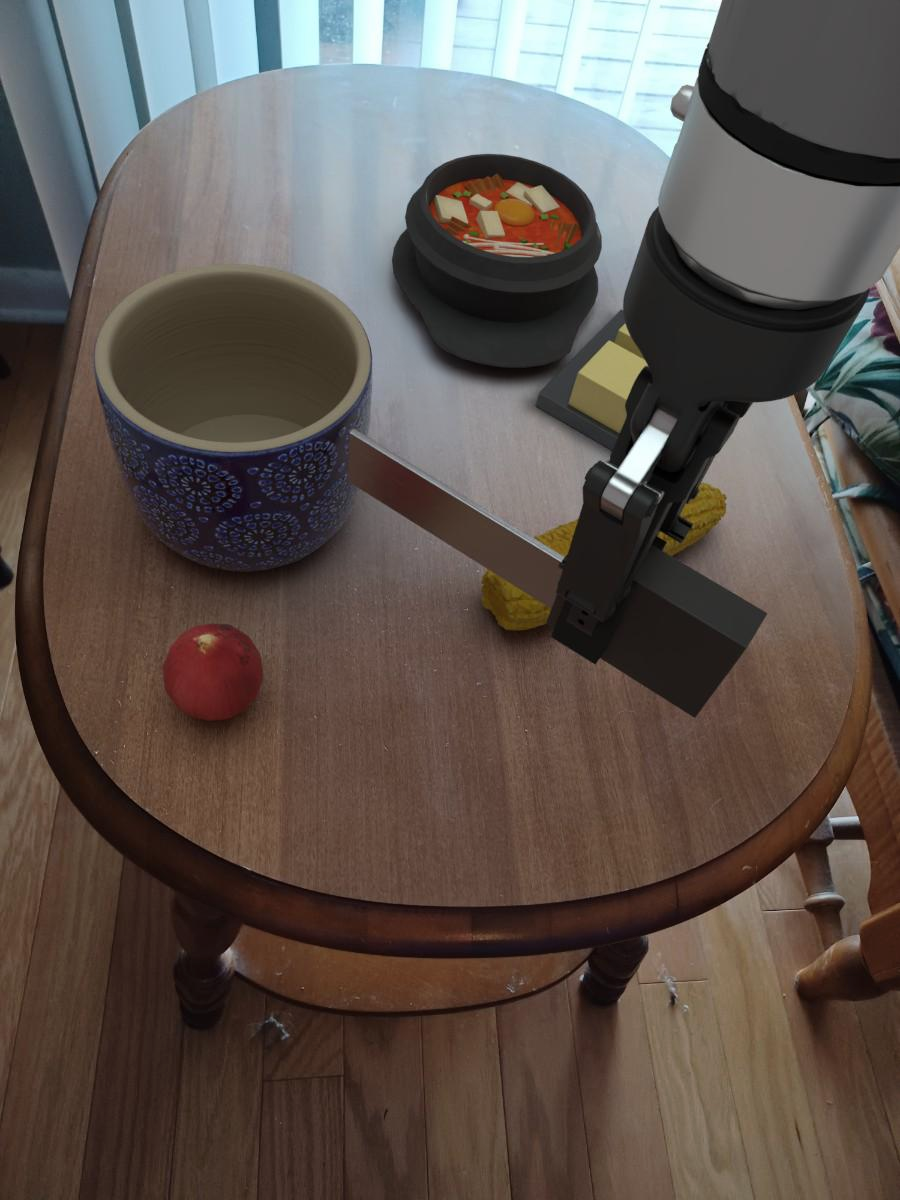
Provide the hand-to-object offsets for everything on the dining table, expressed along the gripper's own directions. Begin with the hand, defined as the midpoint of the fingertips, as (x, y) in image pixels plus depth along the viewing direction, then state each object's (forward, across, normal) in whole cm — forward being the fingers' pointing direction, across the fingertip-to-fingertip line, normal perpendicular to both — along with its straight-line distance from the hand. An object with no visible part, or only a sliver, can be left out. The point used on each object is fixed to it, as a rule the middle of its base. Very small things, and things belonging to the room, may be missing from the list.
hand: (591, 625), depth 50 cm
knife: (0, 0, -4) cm, 5 cm away
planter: (+14, -3, -27) cm, 30 cm away
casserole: (+14, -36, -27) cm, 47 cm away
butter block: (+12, -29, -11) cm, 33 cm away
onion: (+14, +10, -18) cm, 25 cm away
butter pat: (+12, -34, -11) cm, 38 cm away
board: (+14, -33, -11) cm, 37 cm away
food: (+14, -14, -4) cm, 21 cm away
